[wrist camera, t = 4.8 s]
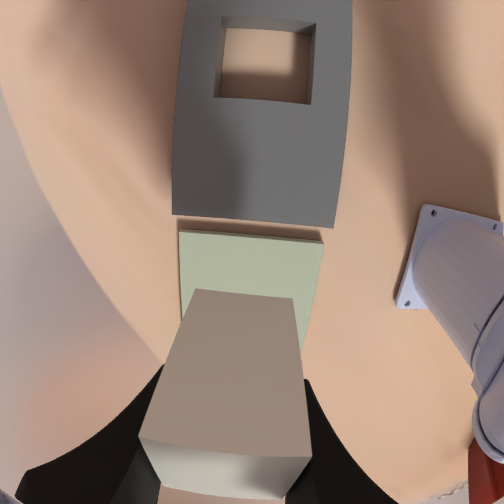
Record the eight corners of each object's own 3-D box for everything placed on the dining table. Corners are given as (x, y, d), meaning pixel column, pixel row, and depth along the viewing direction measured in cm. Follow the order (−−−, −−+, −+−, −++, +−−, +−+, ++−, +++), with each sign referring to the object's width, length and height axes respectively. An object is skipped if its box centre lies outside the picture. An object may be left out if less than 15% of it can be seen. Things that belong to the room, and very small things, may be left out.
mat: (322, 240, 18) (324, 244, 17) (300, 348, 21) (301, 353, 21) (181, 228, 18) (179, 231, 17) (186, 338, 21) (184, 342, 21)
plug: (292, 298, 12) (311, 456, 5) (278, 365, 13) (281, 499, 7) (195, 288, 12) (137, 436, 5) (196, 357, 13) (163, 486, 7)
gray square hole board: (342, -32, 10) (349, -46, 8) (326, 218, 17) (333, 228, 15) (206, -42, 10) (200, -57, 8) (181, 206, 17) (171, 214, 15)
